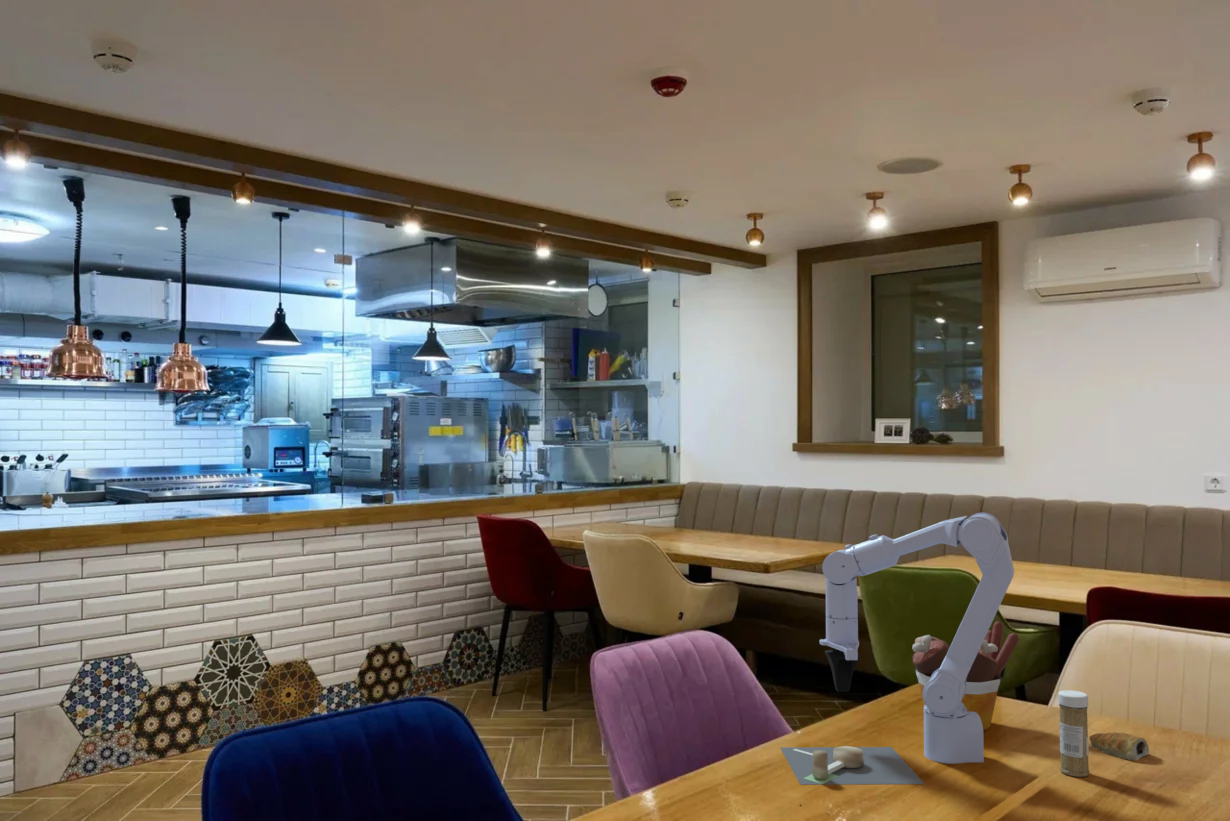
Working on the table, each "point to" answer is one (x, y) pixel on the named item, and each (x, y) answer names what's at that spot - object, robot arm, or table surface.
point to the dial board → (877, 768)
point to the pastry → (1120, 745)
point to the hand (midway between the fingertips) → (842, 691)
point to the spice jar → (1074, 733)
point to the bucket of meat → (981, 674)
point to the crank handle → (836, 760)
